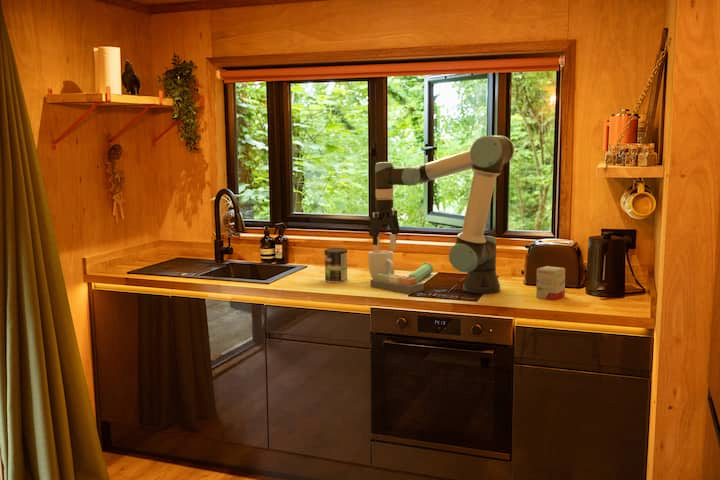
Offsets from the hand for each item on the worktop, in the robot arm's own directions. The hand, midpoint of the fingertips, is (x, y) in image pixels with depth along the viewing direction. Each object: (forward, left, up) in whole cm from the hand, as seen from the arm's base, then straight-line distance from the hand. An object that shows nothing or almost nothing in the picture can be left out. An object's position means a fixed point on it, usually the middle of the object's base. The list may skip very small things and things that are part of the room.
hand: (384, 250), depth 308 cm
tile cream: (-6, 0, -14) cm, 15 cm away
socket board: (-6, 0, -16) cm, 17 cm away
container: (-1, -22, -16) cm, 27 cm away
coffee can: (+25, +5, -16) cm, 30 cm away
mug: (+8, -7, -16) cm, 19 cm away
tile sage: (0, 0, -14) cm, 14 cm away
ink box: (-64, -27, -16) cm, 71 cm away
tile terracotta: (-13, 0, -14) cm, 19 cm away
